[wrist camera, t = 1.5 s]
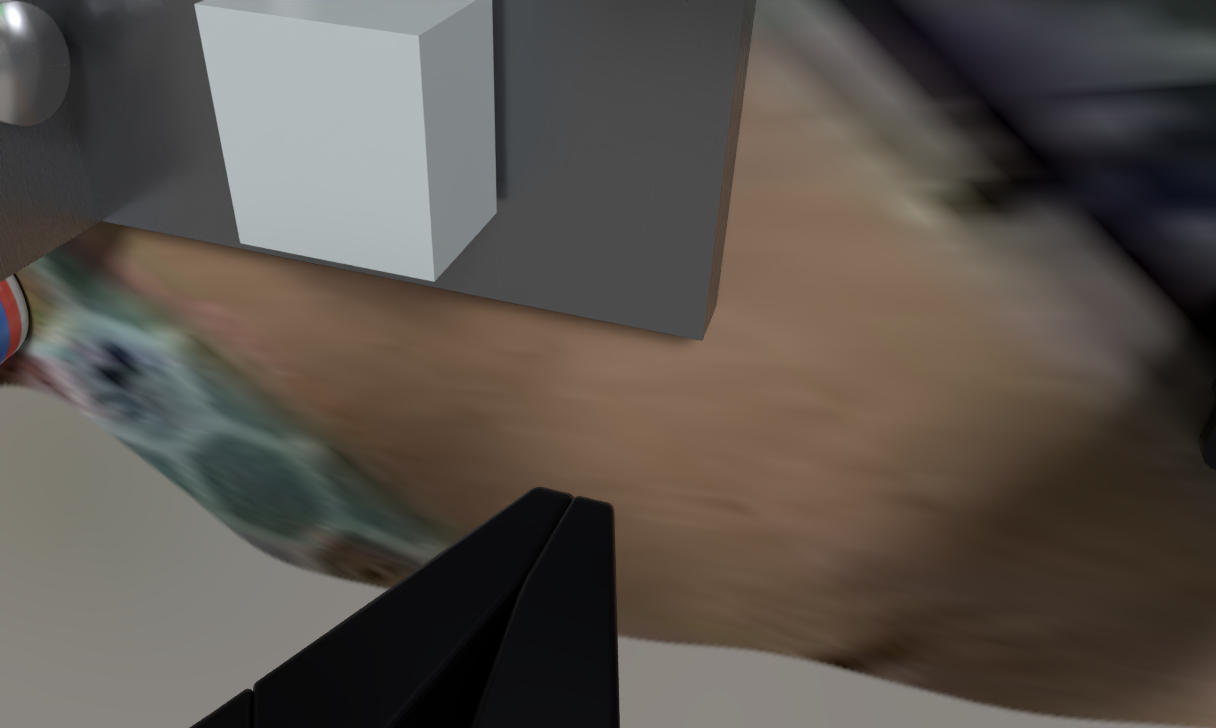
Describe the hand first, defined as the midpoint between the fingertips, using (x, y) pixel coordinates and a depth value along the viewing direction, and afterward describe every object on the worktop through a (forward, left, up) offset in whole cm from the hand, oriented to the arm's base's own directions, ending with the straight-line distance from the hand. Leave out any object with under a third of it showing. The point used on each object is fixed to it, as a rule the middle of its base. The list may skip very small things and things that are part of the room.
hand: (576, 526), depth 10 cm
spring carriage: (+7, -1, -10) cm, 12 cm away
